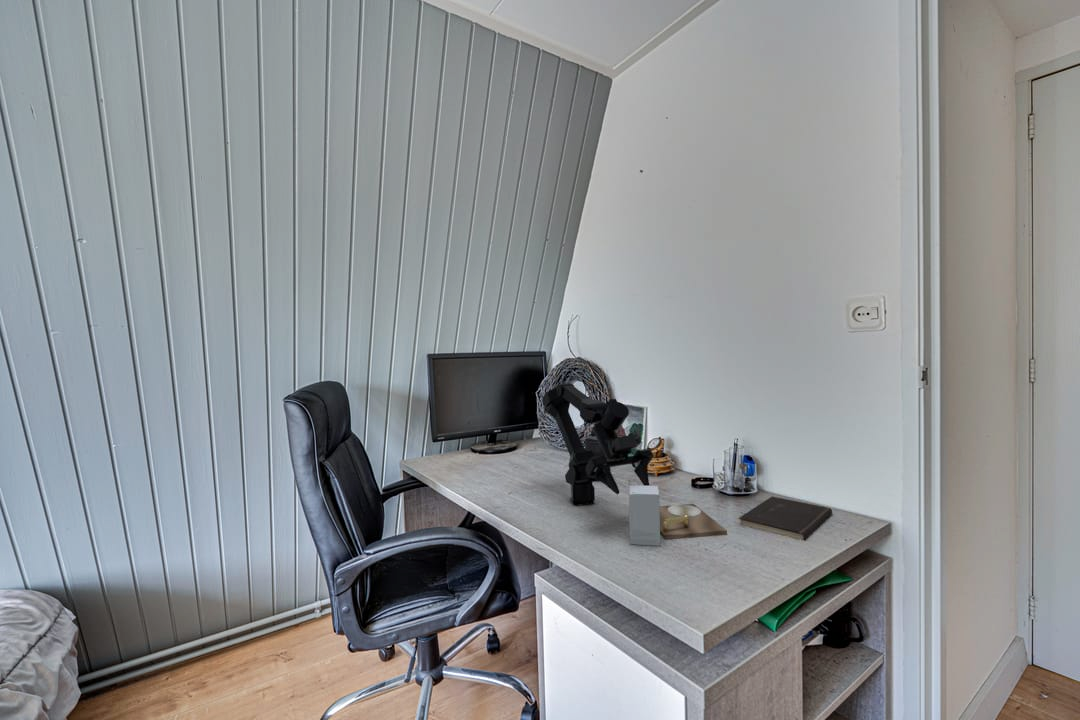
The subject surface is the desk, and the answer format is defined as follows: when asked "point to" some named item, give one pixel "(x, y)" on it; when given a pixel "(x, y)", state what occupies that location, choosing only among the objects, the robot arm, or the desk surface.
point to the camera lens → (593, 446)
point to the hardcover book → (786, 517)
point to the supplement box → (644, 515)
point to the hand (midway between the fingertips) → (633, 490)
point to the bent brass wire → (677, 520)
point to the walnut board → (689, 523)
